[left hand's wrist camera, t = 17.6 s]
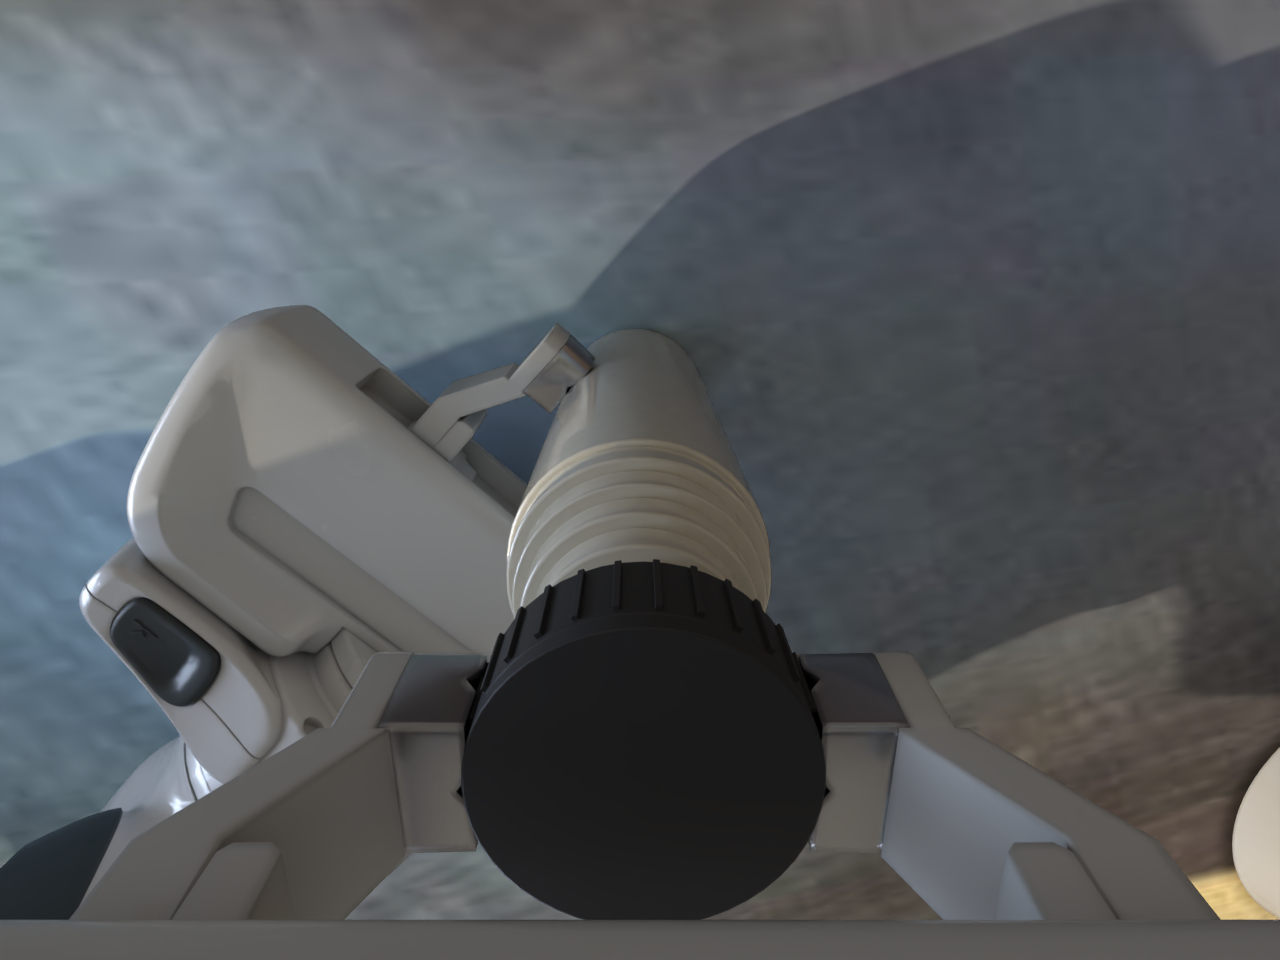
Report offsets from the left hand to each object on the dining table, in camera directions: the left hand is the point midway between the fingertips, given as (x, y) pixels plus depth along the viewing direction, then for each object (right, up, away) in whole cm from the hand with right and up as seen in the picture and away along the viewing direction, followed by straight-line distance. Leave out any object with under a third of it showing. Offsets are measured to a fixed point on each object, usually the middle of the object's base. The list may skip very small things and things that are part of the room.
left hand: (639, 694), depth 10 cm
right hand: (0, +5, +12) cm, 13 cm away
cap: (0, 0, -2) cm, 2 cm away
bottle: (0, +6, +17) cm, 18 cm away
